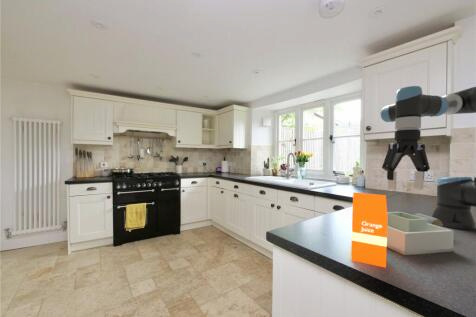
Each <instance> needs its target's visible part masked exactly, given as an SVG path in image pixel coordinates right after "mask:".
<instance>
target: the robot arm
mask: <svg viewBox="0 0 476 317" xmlns="http://www.w3.org/2000/svg"><path fill="white" fill-rule="evenodd" d="M394 102H395V103H393V104H389V105H386V106H385V105H384V107H382V109H381V111H380V118H381V120H382V121H383V122H385V123H393V122H394V129H395V131H394V141H395V142H393V143H392V142H391V143H388V150H387V152H386V154H385V159H384V160H383V163H382V166H381V169H383V170H384V171H385V172H386V180H387V189H388V190H397V179H398V178H397V176H398V175H397V173H398V172H397V171H396V169H397V167H398V165H399V164H400V162H401V161H402V159H403V158H404V157H405V156H408V157H409V158H410V160H411V162H412V164H413V166H414V168H415V171H414V184H413V185H414V186H413V187H414V189H418V190H424V180H425V172H426V173H427V172H428V171H429V170H430V167H431V166H430V164H429V161H428V157H427V153H426V145H425V144H424V143H423V144H422V143H421V144H420V143H418V141H419V140H421V133H422V132H421V130H420V129H421V128H422V118H424V117H431V118H432V117H439V116H442V115H455V114H456V115H457V114H458V115H459V114H463V115H464V114H475V113H476V86H473V87H470V88H466V89H462V90H460V91H456V92H453V93H448V94H445V95H443V96H439V95H430V94H424V93H423V89H422V87H421V86H419V85H411V86H410V85H409V86H405V87H401V88H399V89H398V90H397V91H396V94H395V100H394ZM436 189H437V190H436V207H435V209H434V211H433V214H432V215H431V217H433V218H436V219H438V220H440V221H441V222H442V224H443V227H448V228H453V229H459V230H467V231H468V230H471V231H472V230H473V231H474V230H476V221H475V218H474V215H473V213H472V207H473V208H476V175H474V177H473V178H472V177H471V176H449V177H447V176H446V177H445V176H444V177H440V178H438V180H437V185H436Z"/></svg>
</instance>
